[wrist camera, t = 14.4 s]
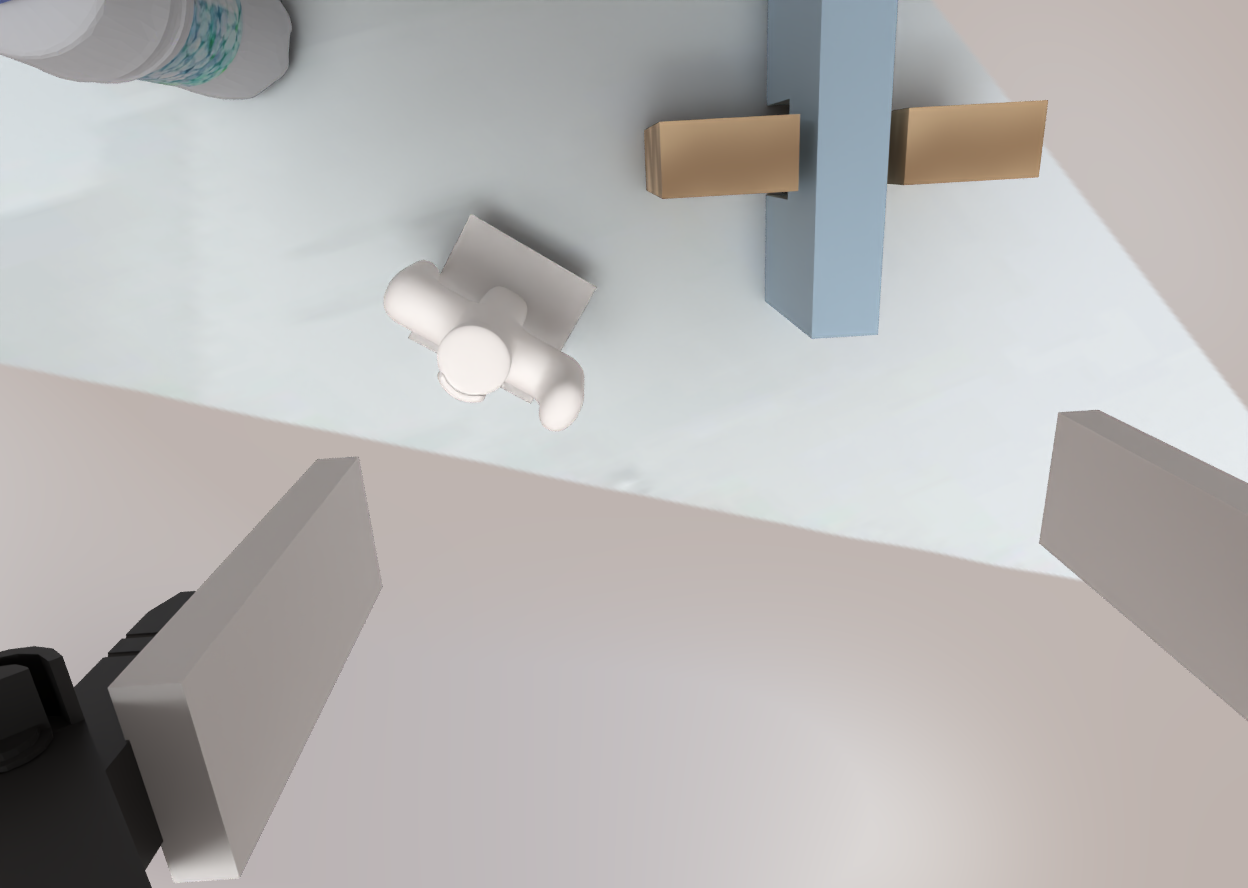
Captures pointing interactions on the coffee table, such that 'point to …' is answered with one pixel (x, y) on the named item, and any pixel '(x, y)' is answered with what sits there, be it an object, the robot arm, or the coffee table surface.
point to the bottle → (153, 42)
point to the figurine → (497, 321)
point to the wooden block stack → (918, 154)
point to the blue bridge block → (831, 162)
